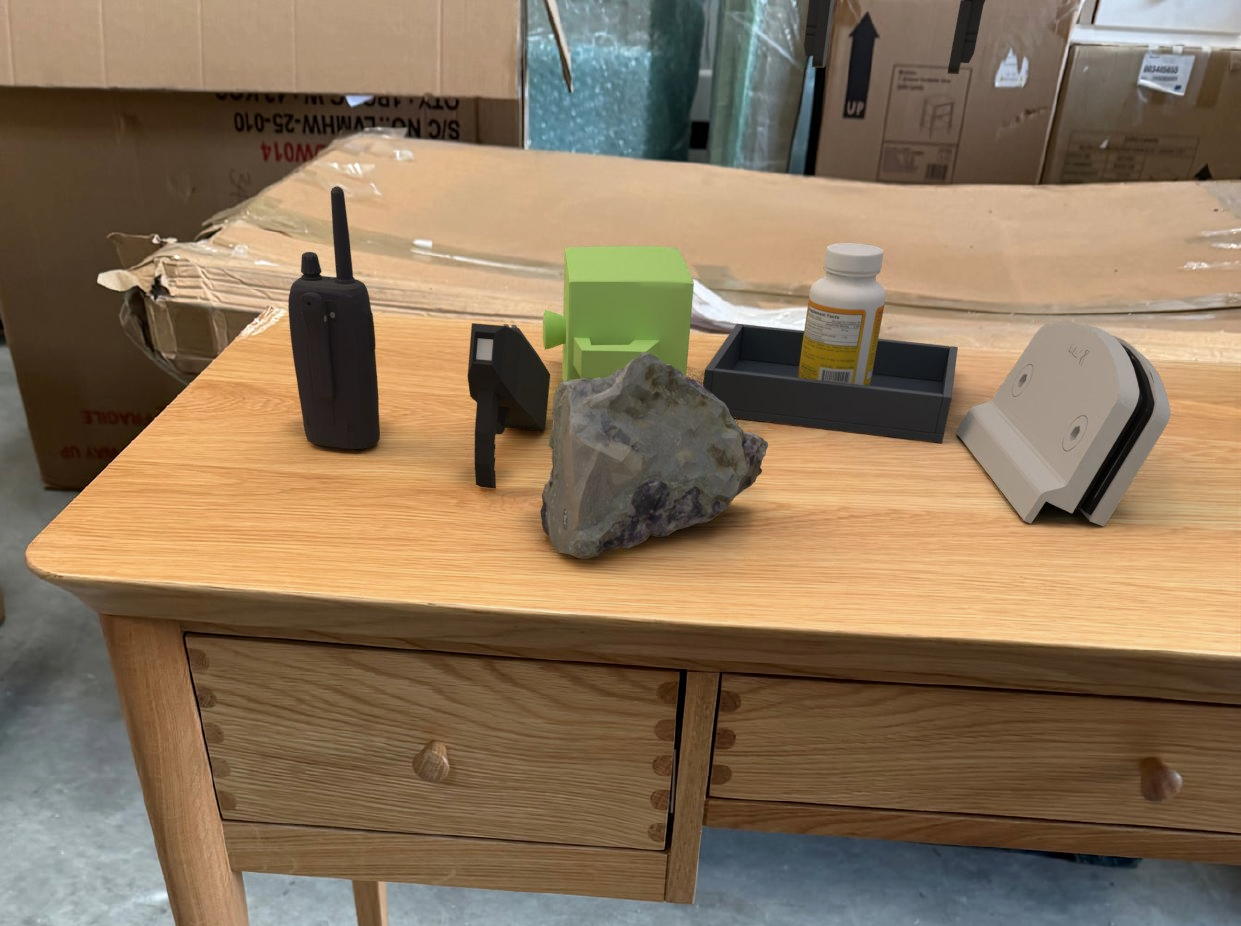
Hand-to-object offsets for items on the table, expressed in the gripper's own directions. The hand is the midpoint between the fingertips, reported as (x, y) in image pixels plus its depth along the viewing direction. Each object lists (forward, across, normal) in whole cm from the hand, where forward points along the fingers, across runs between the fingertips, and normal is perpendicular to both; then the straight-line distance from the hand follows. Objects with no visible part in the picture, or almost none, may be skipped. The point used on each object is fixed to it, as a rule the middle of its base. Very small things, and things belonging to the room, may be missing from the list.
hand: (884, 69), depth 75 cm
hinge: (+21, -15, +11) cm, 28 cm away
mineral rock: (+21, +7, +29) cm, 36 cm away
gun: (+21, +19, +19) cm, 34 cm away
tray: (+21, 0, 0) cm, 21 cm away
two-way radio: (+21, +30, +22) cm, 43 cm away
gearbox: (+21, +16, +5) cm, 27 cm away
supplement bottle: (+20, 0, 0) cm, 20 cm away
